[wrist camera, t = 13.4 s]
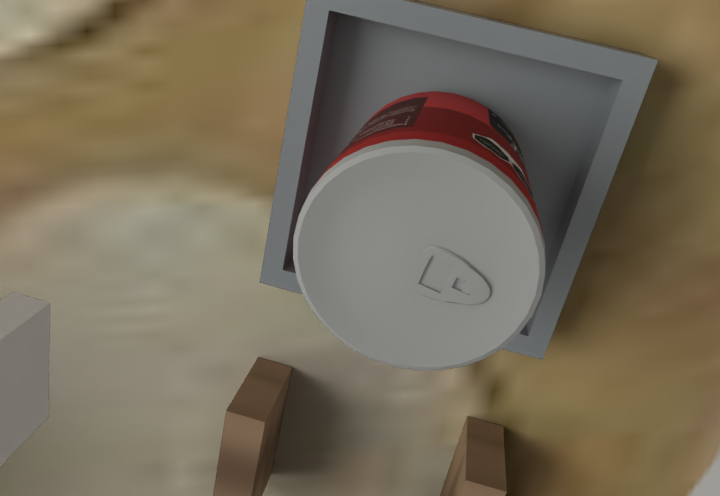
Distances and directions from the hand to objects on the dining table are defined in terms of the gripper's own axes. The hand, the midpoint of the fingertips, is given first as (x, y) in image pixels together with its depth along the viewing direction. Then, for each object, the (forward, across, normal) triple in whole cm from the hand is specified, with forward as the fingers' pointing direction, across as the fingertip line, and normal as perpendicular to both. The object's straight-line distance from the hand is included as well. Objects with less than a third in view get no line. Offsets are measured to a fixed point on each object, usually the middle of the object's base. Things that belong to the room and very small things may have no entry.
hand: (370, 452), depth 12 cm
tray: (+20, 0, 0) cm, 20 cm away
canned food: (+20, 0, 0) cm, 20 cm away
